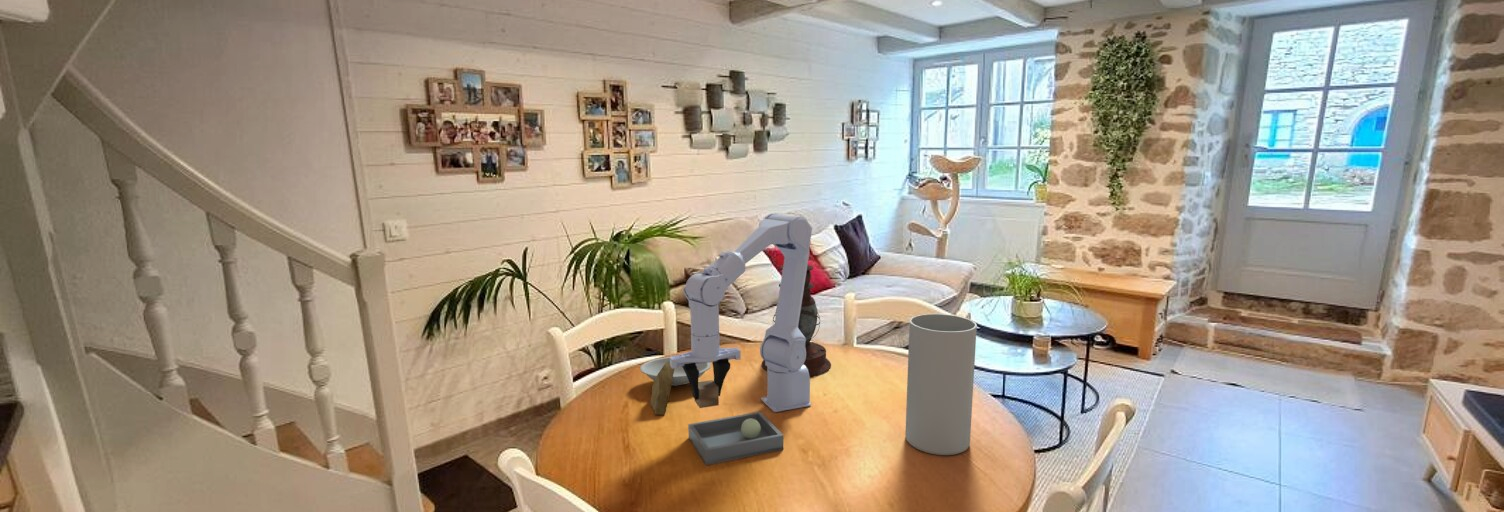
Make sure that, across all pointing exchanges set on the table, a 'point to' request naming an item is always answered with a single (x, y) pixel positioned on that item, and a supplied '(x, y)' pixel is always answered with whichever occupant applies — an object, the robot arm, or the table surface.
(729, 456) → the serving tray
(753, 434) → the green ball
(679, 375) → the dish
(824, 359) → the lantern
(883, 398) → the table surface
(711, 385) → the walnut cube
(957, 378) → the cylinder vase
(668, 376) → the rock
